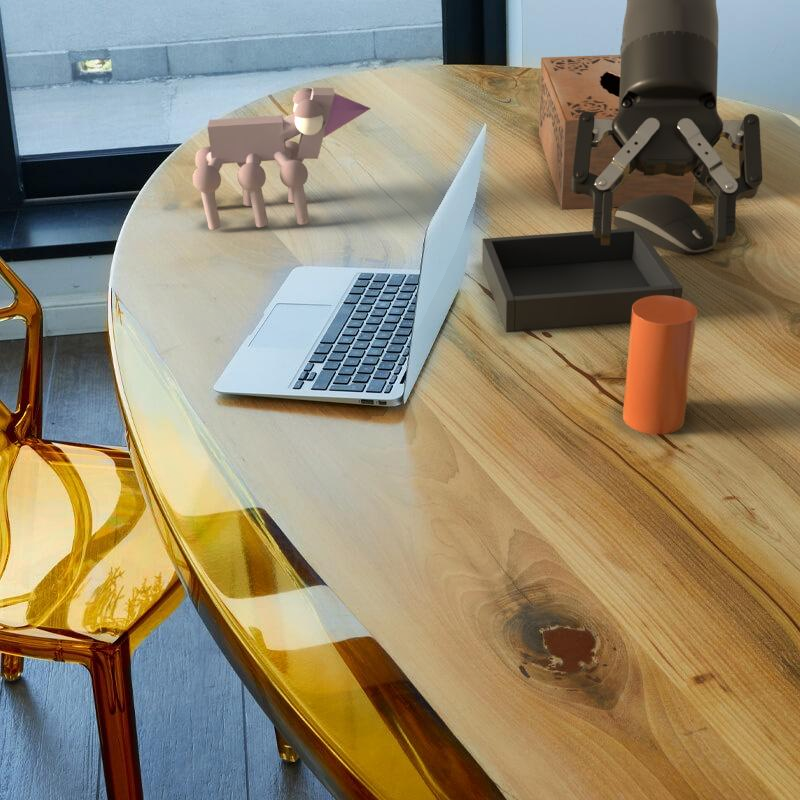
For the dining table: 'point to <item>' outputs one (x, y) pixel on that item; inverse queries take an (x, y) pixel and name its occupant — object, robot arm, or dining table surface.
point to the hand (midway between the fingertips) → (662, 244)
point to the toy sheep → (271, 150)
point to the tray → (573, 278)
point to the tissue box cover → (599, 94)
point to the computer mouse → (666, 224)
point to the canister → (659, 363)
